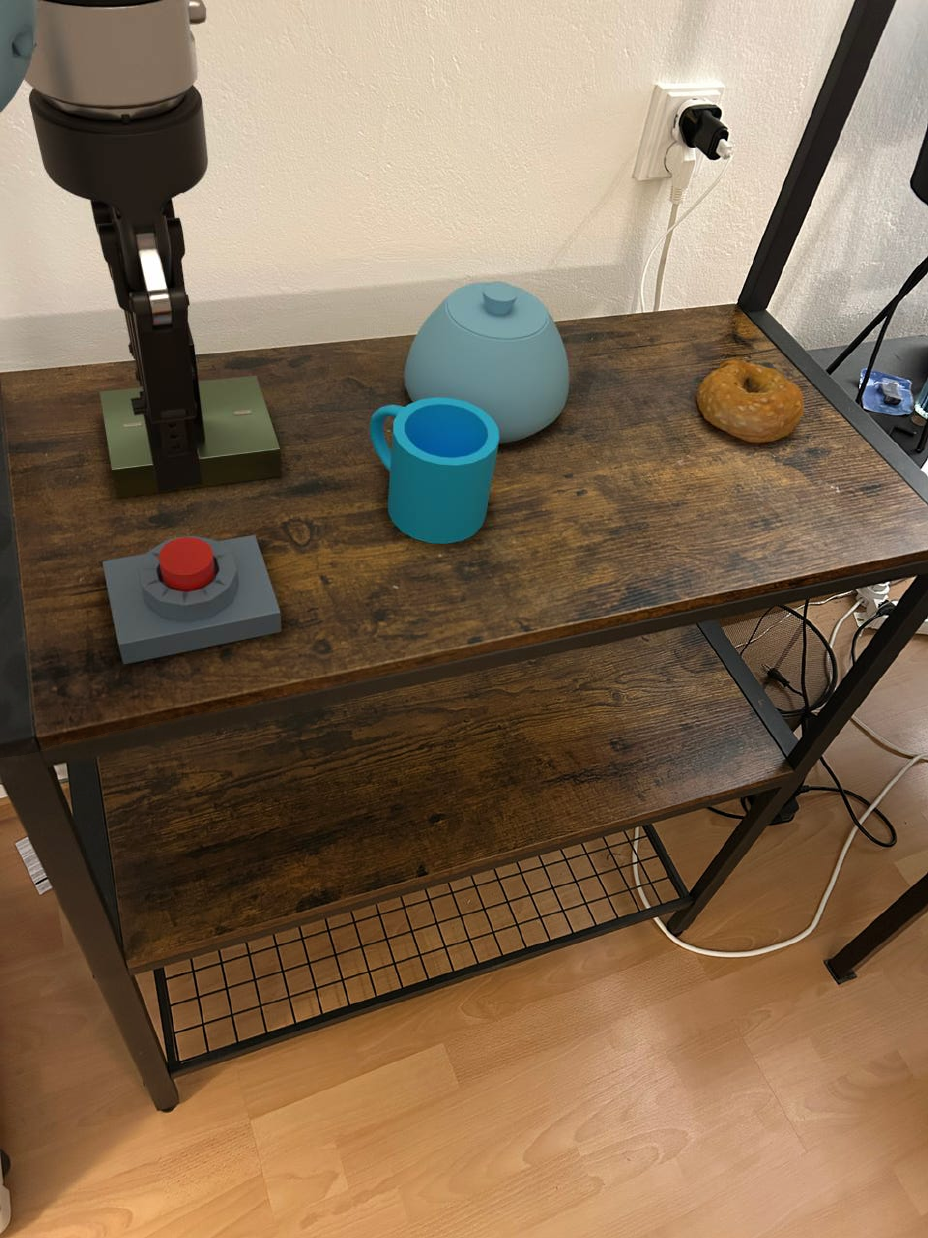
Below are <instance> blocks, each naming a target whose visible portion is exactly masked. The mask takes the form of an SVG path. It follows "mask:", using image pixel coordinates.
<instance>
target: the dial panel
mask: <svg viewBox="0 0 928 1238" xmlns="http://www.w3.org/2000/svg"><path fill="white" fill-rule="evenodd" d="M198 381H199V390H200V398H201V407H202V416H203V424H204V433H205V441H197V448H198V455H199V463H200V470H201V477H202V484H200V485H194V486H188V487H182V488H176V489H169V490H163V491H159V490H158V486H157V483H156V479H155V474H154V469H153V463H152V458H151V453H150V447H149V442H148V436H147V431H146V426H145V420H144V415H143V414H141V415H134V412H133V408H132V403H131V398H137V397H140V393H139V391H143V387H142V386H140V387H139V386H138V387H131V388H121V389H111V390H102V391H101V390H100V391H99V392H98V393H99V398H100V399H99V400H100V405H101V411H102V416H103V423H104V430H105V436H106V443H107V449H108V453H109V454H108V455H109V462H110V468H111V472H112V477H113V483H114V487H115V492H116V496H117V498H118V499H123V498H130V497H131V498H132V497H135V496H136V497H138V496H146V495H152V494H153V495H154V494H160V493H168V492H169V493H170V492H175V491H176V492H177V491H183V490H190V489H198V488H205V487H212V486H220V485H228V484H236V483H244V482H251V481H258V480H265V479H275V478H280V477H282V464H281V463H282V460H281V459H282V458H281V447H280V443H279V441H278V438H277V435H276V432H275V429H274V426H273V425H274V424H273V423H272V420H271V416H270V413H269V411H268V406H267V403H266V402H265V401H266V400H265V398H264V395H263V391H262V388H261V386H260V382H259V379H258V376H257V375H248V376H239V377H238V376H237V377H229V378H227V377H226V378H218V379H208V380H198Z"/></svg>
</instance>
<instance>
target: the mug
mask: <svg viewBox="0 0 928 1238" xmlns="http://www.w3.org/2000/svg"><path fill="white" fill-rule="evenodd" d="M388 417H395V418H394V420H393V424H392V425H393V426H392V439H391V449H390V447H389V445H388V442H387V440H386V437H385V433H384V423H385V420H386V419H387V418H388ZM369 436H370V440H371V442H372V446H373V448H374V451H375V453H376V455H377V456H378V458H379V460H380V461H381V464H382V465H383V466H384V467H385V469H386V470H387V471H388V472H389V481H388V482H389V483H388V496H387V513H388V515H389V517H390V520H391V521H392V522H391V523H393V524H394V525H395V526H396V528H397V529H399V531H401V533H403V534H405V535H407V536H409V537H411V538H412V539H415V540H418V541H422V542H424V543H429V544H443V545H448V544H452V543H458V542H462V541H464V540H466V539H468V538H470V537H473V536H474V535H475V534H477V532H478V531H479V530H480V529H481V528H482V527H483V525H484V522H485V520H486V517H487V511H488V506H489V499H490V494H491V488H492V483H493V479H494V471H495V466H496V460H497V455H498V449H499V444H498V443H499V431H498V427H497V425H496V424H495V422H494V420H493V419H492V417H490V416H489V415H488V414H487V413H486V412H485V411H483V410H482V409H481V408H479V407H477V406H475V405H473V404H471V403H469V402H465V401H461V400H457V399H453V398H439V397H436V398H428V399H421V400H419V401H416V402H414V403H413V402H411V403H408V404H407V405H406V406H402V405H398V404H388V405H384V406H381V407H379V408H378V409H377V410H376V411H375V412H374V413H373V414H372V415H371V419H370V423H369Z"/></svg>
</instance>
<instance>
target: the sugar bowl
mask: <svg viewBox="0 0 928 1238" xmlns="http://www.w3.org/2000/svg"><path fill="white" fill-rule="evenodd" d="M561 336H562V335H560V332H559V330H558V327H557V326H556V323H555V321H554V319H553V316H552V314H551V313H550V311H549V310H548V308H547V306H546V305H545V304H544V303H543V302H542V301H541V300H540V298H538V297H537V296H535V295H534V294H533V293H531V292H529V291H527V290H525V289H523V288H521V287H518V286H515V285H512V284H510V283H508V282H505V281H495V280H494V281H481V282H474V283H469V284H466V285H465V284H464V285H463V286H460V287H458V288H457V289H455V290H453V291H452V292H451V293H450V294H449V295H448V296H447V297H445V298H444V299H443V300H442V301H441V302H440V304H439V305H437V307H436V308H435V309H434V310H433V311H432V312H431V313H430V315H429V316H428V317H427V318H426V320H425V321H424V322H423V323H422V325H421V326H420V328H419V330H418V331H417V333H416V334H415V337H414V339H413V341H412V343H411V346H410V348H409V351H408V355H407V357H406V361H405V365H404V372H403V373H404V374H403V381H404V386H405V389H406V392H407V394H408V397H409V399H410V400H411V403H414V402H416V401H419V400H421V399H428V398H436V397H439V398H453V399H457V400H461V401H465V402H469V403H471V404H473V405H475V406H477V407H479V408H481V409H482V410H483V411H485V412H486V413H487V414H488V415H489V416H490V417H492V419H493V420H494V422H495V424H496V425H497V427H498V431H499V443H498V445H501V444H508V443H514V442H518V441H521V440H523V439H526V438H528V437H530V436H532V435H534V434H536V433H539V432H540V431H542V430H543V429H545V428H547V427H548V426H549V425H551V424H552V423H554V421H555V420H556V419H557V418H558V417H559V416H560V414H561V413H562V411H563V410H564V408H565V406H566V403H567V400H568V396H569V387H570V372H569V371H570V369H569V361H568V356H567V351H566V348H565V344H564V342H563V339H562V337H561Z"/></svg>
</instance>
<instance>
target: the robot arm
mask: <svg viewBox="0 0 928 1238" xmlns="http://www.w3.org/2000/svg"><path fill="white" fill-rule="evenodd" d="M206 20H207V8H206V6H205V3H204V1H203V0H0V114H1V113H2V112H3V111H4V110H5V109H6V108H7V106H8V105H9V103H11V102H12V100H13V99H14V97H15V96H16V94H17V92H18V91H19V89H20V88H21V86H22V84H23V82H24V81H25V82H26V83H27V84H28V86H29V87H31V91H30V92H29V94H28V103H29V107H30V112H31V118H32V121H33V126H34V131H35V134H36V138H37V145H38V149H39V152H40V157H41V162H42V165H43V168H44V171H45V172H46V173H47V175H48V177H49V178H50V179H51V180H52V182H54V184H56V185H57V186H58V187H60V188H61V189H62V190H64V191H65V192H68V193H70V194H72V195H74V196H76V197H79V198H81V199H85V200H89V203H90V207H91V212H92V218H93V223H94V226H95V230H96V233H97V235H98V238H99V239H98V240H99V245H100V248H101V252H102V255H103V259H104V261H105V262H106V264H107V268H108V271H109V275H110V279H111V280H112V284H113V290H114V293H115V297H116V301H117V304H118V307H119V308H120V309H121V310H123V313H124V318H125V319H124V320H125V323H126V329H127V335H128V339H129V342H128V343H129V344H127V346H128V347H127V348H128V351H129V354H130V355H131V356H132V357H133V360H134V362H135V367H136V369H135V371H134V375H135V380H136V381H138V383H139V386H140V387H143V391H139V393H140V397H137V398H131V403H132V408H133V412H134V415H141V414H143V415H144V420H145V426H146V431H147V436H148V442H149V447H150V453H151V458H152V463H153V469H154V474H155V479H156V483H157V486H158V490H159V491H163V490H169V489H176V488H182V487H188V486H194V485H200V484H202V477H201V470H200V463H199V455H198V448H197V441H196V434H195V426H194V419H193V418H196V416H197V413H196V411H198V410H197V404H196V402H195V398H194V387H193V379H196V376H195V372H194V369H193V366H192V363H191V355H190V345H189V334H188V323H189V306H190V305H191V304H190V297H189V294H187V291H186V286H185V277H184V269H183V262H182V260H183V258H184V256H185V254H186V244H185V238H184V231H183V225H182V221H181V218H180V217H176V215H175V207H174V202H173V199H174V198H175V197H178V196H179V195H181V194H186V193H187V192H188V191H190V190H192V189H193V188H194V187H196V186H197V185H198V184H199V183H200V182H201V180H202V179H203V178H204V176H205V175H206V173H207V170H208V165H209V156H208V147H207V135H206V125H205V115H204V106H203V97H202V94H201V93H200V91H199V90H198V88H196V86H195V85H194V84H195V82H196V81H197V80H198V76H199V75H198V74H199V67H198V55H197V45H196V38H195V35H194V33H193V32H192V30H191V26H192V25H195V26H196V25H197V26H198V25H201V24H203V23H205V22H206Z"/></svg>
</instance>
